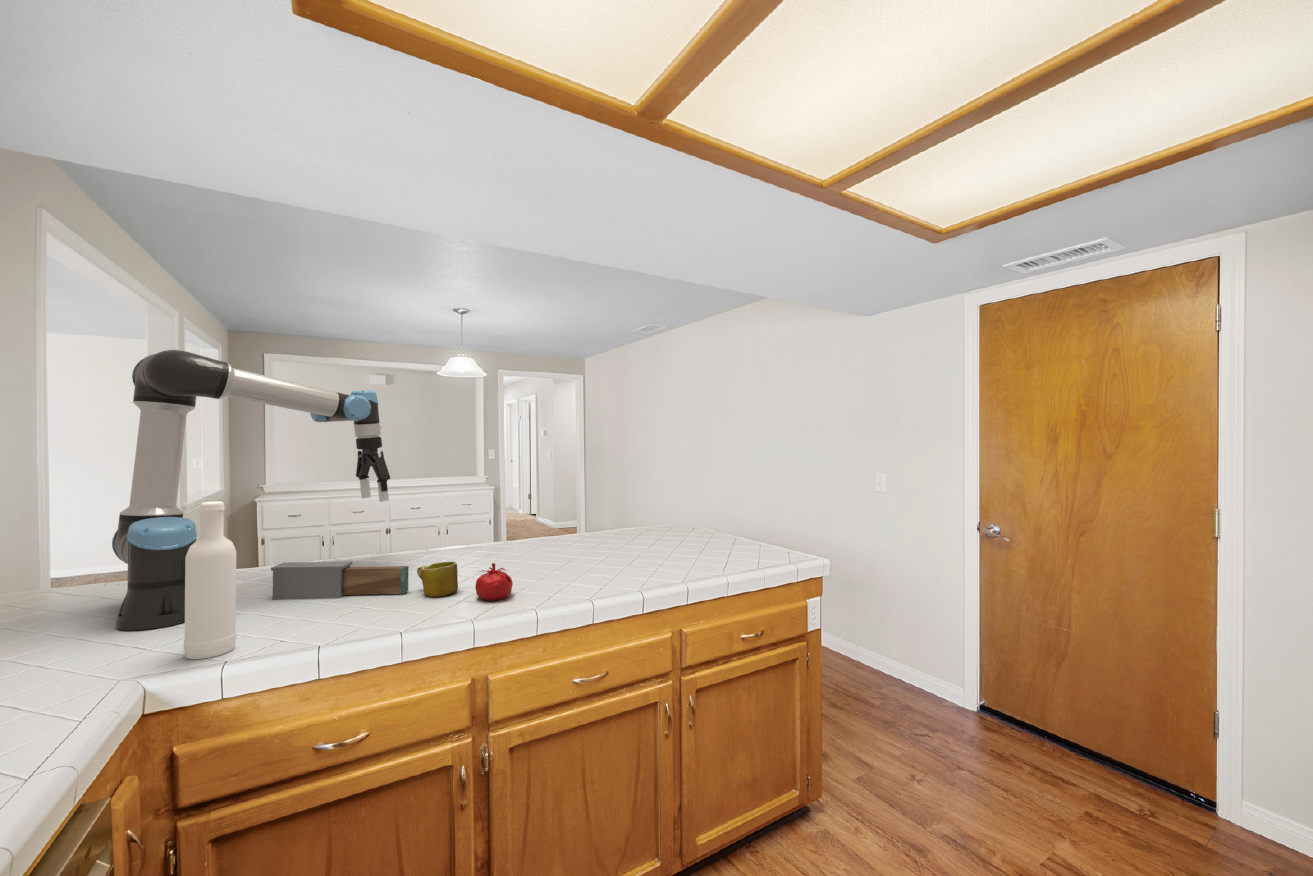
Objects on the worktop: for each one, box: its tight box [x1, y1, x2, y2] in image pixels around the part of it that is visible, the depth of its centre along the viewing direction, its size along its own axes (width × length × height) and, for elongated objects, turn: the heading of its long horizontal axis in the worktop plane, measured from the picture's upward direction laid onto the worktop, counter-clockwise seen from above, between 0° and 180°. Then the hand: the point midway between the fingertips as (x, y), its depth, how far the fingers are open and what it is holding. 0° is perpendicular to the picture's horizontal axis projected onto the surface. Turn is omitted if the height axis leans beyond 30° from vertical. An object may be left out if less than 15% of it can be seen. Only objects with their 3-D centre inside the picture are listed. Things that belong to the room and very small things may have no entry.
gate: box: [342, 565, 410, 596], centre depth 144 cm, size 3×16×7 cm, turn 96°
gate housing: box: [270, 561, 353, 601], centre depth 142 cm, size 6×18×8 cm, turn 96°
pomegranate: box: [474, 562, 514, 601], centre depth 141 cm, size 10×10×9 cm
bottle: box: [183, 500, 237, 660], centre depth 104 cm, size 8×8×30 cm
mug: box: [416, 561, 459, 598], centre depth 145 cm, size 12×10×10 cm
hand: (375, 499), depth 175 cm, fingers open, 13 cm apart
